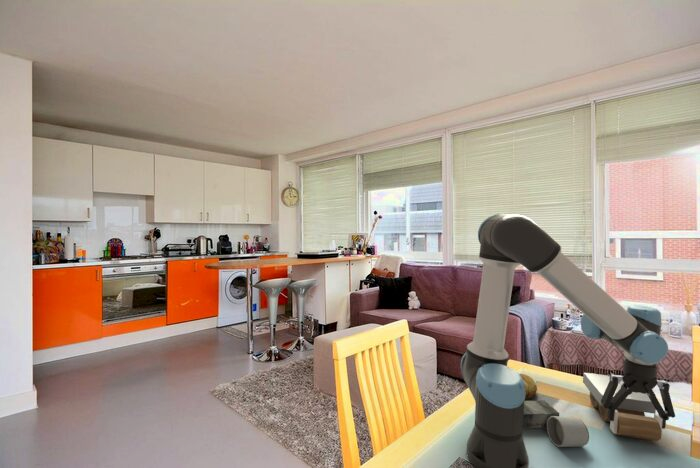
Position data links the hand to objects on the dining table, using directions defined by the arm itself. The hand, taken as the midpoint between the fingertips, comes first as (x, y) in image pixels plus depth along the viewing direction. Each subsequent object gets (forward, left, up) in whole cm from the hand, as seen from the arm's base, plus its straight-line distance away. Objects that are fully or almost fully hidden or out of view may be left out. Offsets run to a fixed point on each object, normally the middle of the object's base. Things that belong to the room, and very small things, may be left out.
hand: (634, 434), depth 104 cm
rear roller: (0, +17, -1) cm, 17 cm away
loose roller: (0, 0, 0) cm, 0 cm away
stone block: (-28, +1, -2) cm, 28 cm away
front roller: (0, +9, -1) cm, 9 cm away
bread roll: (-27, +17, -2) cm, 32 cm away
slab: (0, +13, +5) cm, 14 cm away
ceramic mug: (-20, -7, -2) cm, 22 cm away
